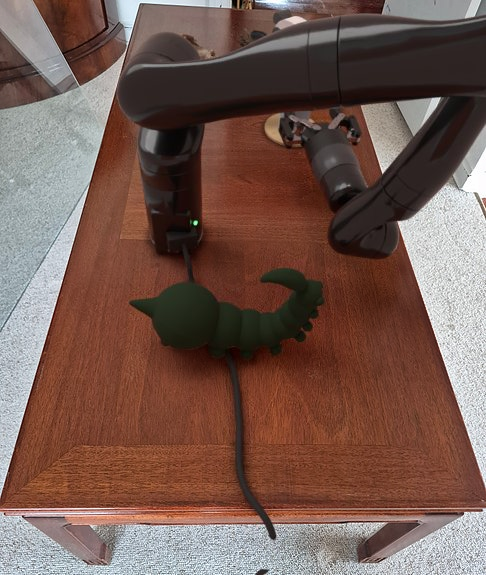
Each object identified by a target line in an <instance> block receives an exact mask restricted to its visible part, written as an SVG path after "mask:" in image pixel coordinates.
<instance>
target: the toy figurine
mask: <svg viewBox="0 0 486 575" xmlns="http://www.w3.org/2000/svg"><path fill="white" fill-rule="evenodd" d="M259 282H260V283H262V284H267V283H271V284H276V285H279V286H282V287H285V288H286V289H288V290H290V291H292V292H291V293H290V294H289V296H288V298H287V300H286V301H284V302H283V303H282V304H281V306H280V307H278V308H276V309H275V310H274V311H273V312H272V311H265V312H261V311H259V310H257V309H254V308H249V307H248V308H241V309H240V308H239V307H238V306H237V305H235V304H233V303H232V302H227V301H218V299H217V298H216V296H215V295H214V293H213V292H212V291H211V290H210V289H209V288H207V287H206V286H204V285H203V284H199V283H196V282H195V283H192V282H189V281H182V282H177V283H174V284H171V285H169V286H167V287H166V288H164V289H163V290H162V291H161V292H159V294H158V295H157V296H155V297H147V298H146V297H145V298H138V299H131V300H129V302H128V304H129V305H130V306H131V307H132V308H134V309H135V310H138V311H139V312H141V313H142V314H144V315H146V316H147V317H149V318H150V320H151V324H152V326H153V329H154V331H155V333H156V335H157V336H158V338H159V339H160V343H161V345H162V346H163V347H171V348H173V349H177V350H183V351H188V350H189V351H190V350H196V349H198V348H201V347H203V346H205V345H207V346H208V353H209V355H210V357H212V358H214V359H220V358H223V357H225V355H224V354H225V353H226V349H231V348H233V347H234V348H236V349H237V350H239V356H240V357H241V359H243V360H245V361H248V360H251V359H252V358H253V356H254V355H255V350H258V349H260V348H261V347H263V348H268V351H269V354H270V355H271V356H275V357H276V356H279V355H281V354H282V352H283V346H282V342H283V341H288V340H291V339H294V340H295V341H296V342H297V344H298V343H304V342H305V341H306V339H307V334H306V333H308V332H311V331H312V330H313V328H314V326H313V323H312V322H311V320H316V319H318V317H320V315H319V314H320V313H319V309H318V307H322V306H323V305H325V302H326V301H325V298H324V297H323V296H324V294H323V292H324V290H323V289H324V284H323V282H322V281H321V280H315V279H311V278H309V279H307V277H306V276H305V274H304V272H301V271H300V270H298V269H295V268H290V267H278V268H275V269H271V270H269V271H267V272H265V273H264V274H262V275H261V276H260V278H259Z"/></svg>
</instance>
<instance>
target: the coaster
mask: <svg viewBox="0 0 486 575" xmlns="http://www.w3.org/2000/svg"><path fill="white" fill-rule="evenodd" d="M279 118H280V113H278V114H272V115H271V116H269V117H268V118H267V120H266V121H265V123H264V132H265V134H266V136H267V137H268V139H270V140H271V141H272V142H273V143H276V144H278V145H281V146H284V147H285V145H284V143H283V141H282V138H281V136H280V134H279V131H278V129H279V128H278V125H279ZM309 122H311V123H316V122H315V121H314V120H313V119H312V118H311V117H310V118H309ZM292 148H303V147H302V146H301V145H300V144H297V145H292Z"/></svg>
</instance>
